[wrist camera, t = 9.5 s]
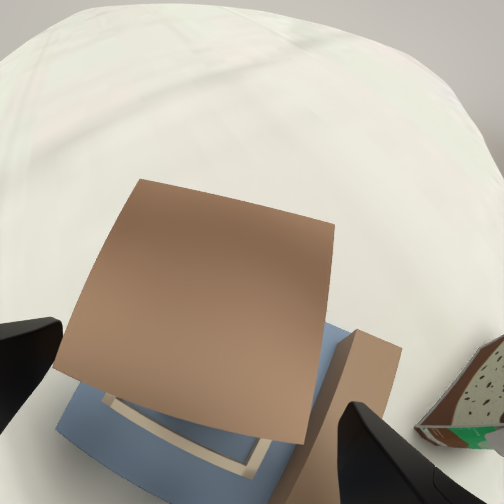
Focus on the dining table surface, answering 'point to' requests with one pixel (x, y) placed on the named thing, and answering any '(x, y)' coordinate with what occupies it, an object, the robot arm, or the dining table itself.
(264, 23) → the dining table surface
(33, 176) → the dining table surface
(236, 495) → the blueprint board
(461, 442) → the food container
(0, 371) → the robot arm
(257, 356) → the pillar
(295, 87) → the dining table surface
